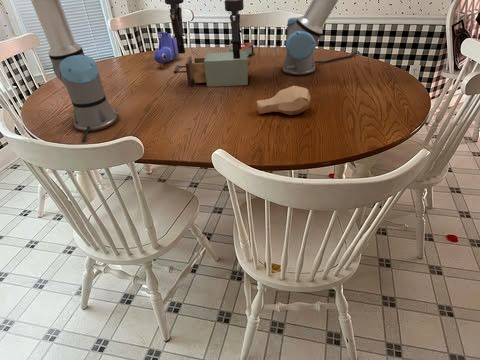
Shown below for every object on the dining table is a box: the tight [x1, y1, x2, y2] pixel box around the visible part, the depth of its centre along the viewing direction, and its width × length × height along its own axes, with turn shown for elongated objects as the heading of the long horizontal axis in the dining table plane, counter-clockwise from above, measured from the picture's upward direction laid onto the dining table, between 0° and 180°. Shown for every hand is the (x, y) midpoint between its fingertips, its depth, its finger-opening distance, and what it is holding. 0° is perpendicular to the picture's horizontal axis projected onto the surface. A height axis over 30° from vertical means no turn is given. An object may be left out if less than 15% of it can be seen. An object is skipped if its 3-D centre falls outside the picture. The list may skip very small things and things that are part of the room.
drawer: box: [173, 56, 206, 86], centre depth 158 cm, size 23×10×9 cm, turn 88°
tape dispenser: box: [228, 42, 255, 63], centre depth 185 cm, size 18×5×20 cm
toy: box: [152, 31, 180, 69], centre depth 182 cm, size 10×17×25 cm
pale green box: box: [204, 51, 249, 88], centre depth 157 cm, size 18×11×11 cm, turn 88°
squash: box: [255, 85, 312, 116], centre depth 130 cm, size 11×20×9 cm, turn 92°
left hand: (181, 52), depth 154 cm, fingers closed
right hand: (237, 53), depth 153 cm, fingers open, 13 cm apart
